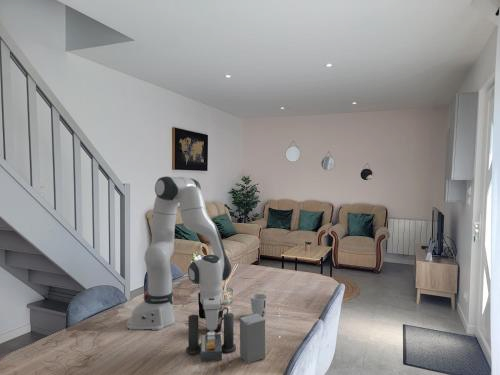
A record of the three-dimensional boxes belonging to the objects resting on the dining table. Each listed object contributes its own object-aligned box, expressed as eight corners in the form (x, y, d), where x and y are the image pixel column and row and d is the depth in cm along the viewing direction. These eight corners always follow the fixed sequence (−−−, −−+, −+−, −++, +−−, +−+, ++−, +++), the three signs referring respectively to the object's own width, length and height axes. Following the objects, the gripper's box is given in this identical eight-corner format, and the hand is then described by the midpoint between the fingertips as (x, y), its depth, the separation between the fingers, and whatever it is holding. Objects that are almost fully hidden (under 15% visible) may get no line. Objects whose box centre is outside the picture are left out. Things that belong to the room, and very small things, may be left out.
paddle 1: (207, 338, 137) (207, 335, 137) (207, 336, 140) (207, 332, 139) (214, 338, 138) (214, 334, 137) (214, 335, 140) (214, 331, 140)
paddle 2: (207, 349, 129) (206, 345, 129) (207, 346, 132) (206, 342, 132) (215, 347, 130) (214, 343, 129) (214, 344, 132) (213, 340, 132)
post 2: (221, 353, 133) (221, 318, 133) (220, 345, 139) (220, 312, 139) (236, 352, 134) (236, 317, 134) (235, 344, 140) (235, 311, 139)
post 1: (185, 355, 131) (185, 320, 131) (186, 347, 137) (186, 314, 137) (201, 354, 132) (200, 319, 132) (201, 346, 138) (201, 313, 138)
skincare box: (257, 350, 135) (257, 312, 135) (266, 359, 129) (266, 318, 128) (238, 356, 131) (238, 316, 131) (247, 365, 125) (247, 323, 124)
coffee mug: (206, 335, 148) (205, 313, 148) (203, 327, 157) (203, 305, 156) (231, 332, 151) (231, 310, 151) (227, 324, 160) (227, 303, 159)
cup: (265, 320, 164) (265, 300, 163) (249, 319, 165) (249, 298, 165) (268, 313, 172) (268, 294, 171) (252, 312, 173) (252, 293, 173)
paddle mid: (207, 343, 133) (207, 339, 133) (207, 340, 136) (207, 336, 136) (215, 343, 134) (215, 339, 134) (214, 340, 136) (214, 336, 136)
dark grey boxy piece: (200, 361, 127) (200, 351, 127) (201, 343, 141) (201, 334, 141) (222, 360, 128) (222, 350, 128) (220, 342, 142) (220, 333, 142)
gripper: (203, 288, 144) (203, 320, 144) (203, 306, 124) (203, 343, 124) (218, 287, 145) (218, 319, 145) (220, 305, 124) (220, 342, 125)
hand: (211, 330), depth 135 cm, fingers closed
